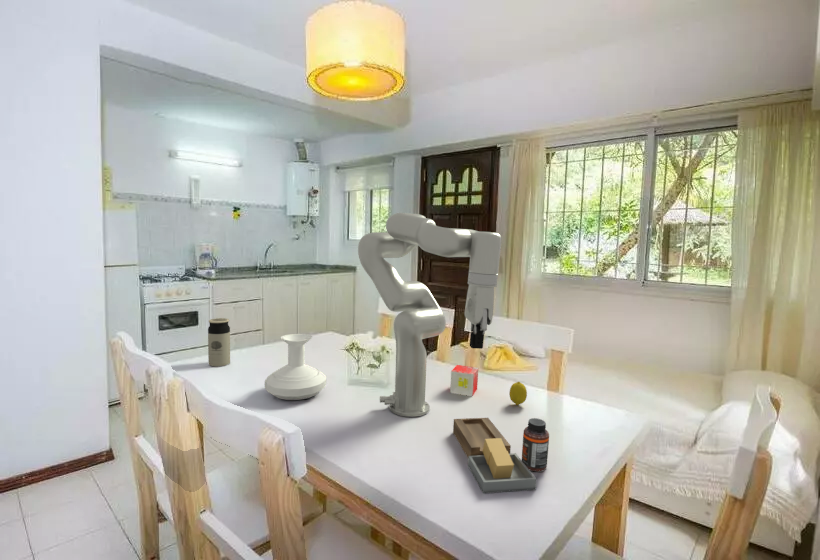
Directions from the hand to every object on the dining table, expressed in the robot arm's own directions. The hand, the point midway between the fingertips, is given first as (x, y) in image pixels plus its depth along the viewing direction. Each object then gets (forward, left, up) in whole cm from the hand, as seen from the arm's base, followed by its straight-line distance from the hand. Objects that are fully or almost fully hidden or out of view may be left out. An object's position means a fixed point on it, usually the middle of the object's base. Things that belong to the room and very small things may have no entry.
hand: (476, 347), depth 114 cm
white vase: (-50, +36, -26) cm, 67 cm away
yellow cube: (+1, -15, -23) cm, 27 cm away
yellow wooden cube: (+1, -17, -22) cm, 28 cm away
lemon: (+22, +20, -26) cm, 40 cm away
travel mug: (-83, +70, -26) cm, 112 cm away
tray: (+1, -19, -25) cm, 32 cm away
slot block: (+1, -5, -25) cm, 26 cm away
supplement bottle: (+11, -15, -26) cm, 32 cm away
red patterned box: (+8, +34, -26) cm, 44 cm away
